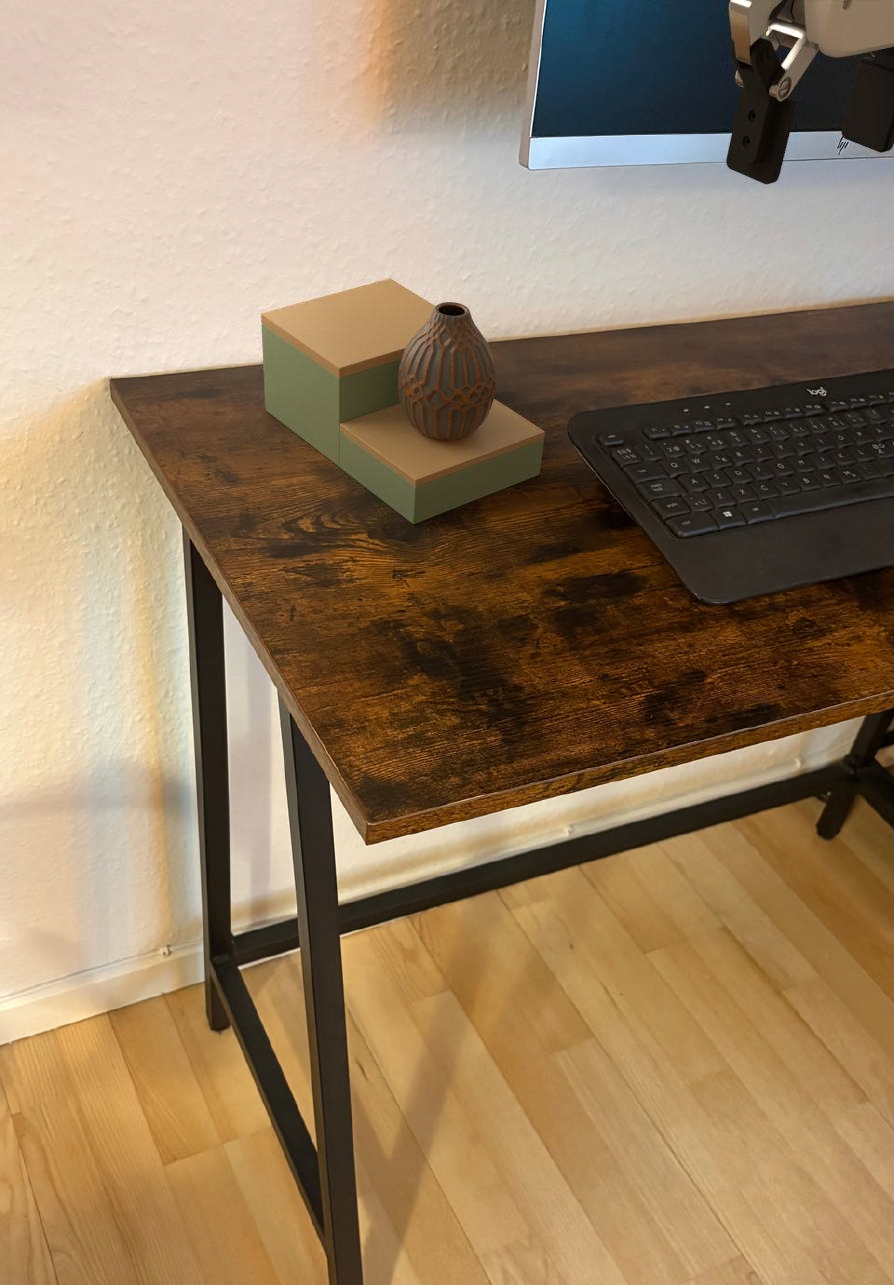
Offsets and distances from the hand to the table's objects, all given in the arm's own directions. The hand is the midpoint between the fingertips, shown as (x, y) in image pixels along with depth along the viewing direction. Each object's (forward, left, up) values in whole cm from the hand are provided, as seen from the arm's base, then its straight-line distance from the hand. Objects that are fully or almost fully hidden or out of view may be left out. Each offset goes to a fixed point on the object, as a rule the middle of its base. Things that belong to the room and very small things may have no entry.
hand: (809, 159), depth 67 cm
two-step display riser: (+16, -20, -26) cm, 37 cm away
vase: (+14, -15, -23) cm, 31 cm away
